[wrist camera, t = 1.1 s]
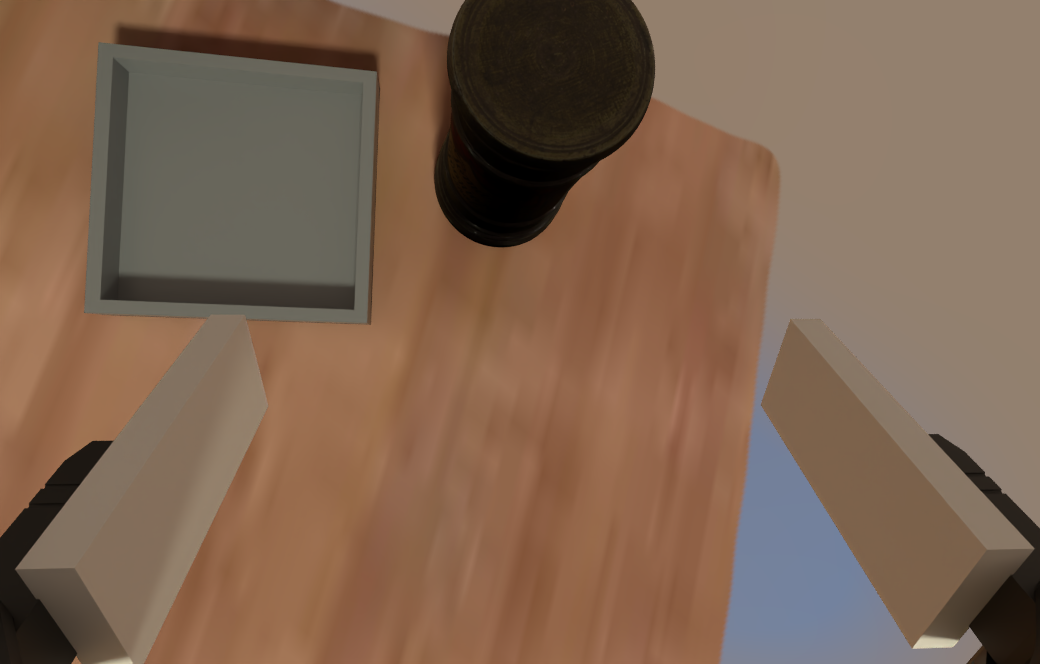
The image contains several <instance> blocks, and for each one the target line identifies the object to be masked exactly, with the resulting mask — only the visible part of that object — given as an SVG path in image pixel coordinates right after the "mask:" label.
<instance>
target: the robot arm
mask: <svg viewBox="0 0 1040 664" xmlns="http://www.w3.org/2000/svg"><path fill="white" fill-rule="evenodd" d="M761 406H762V407H763V409H764V411H765V412H766V414H767V416H768V417H769V419H770V420H771V422H772V423H773V425H774V427H775V429H776V430H777V432H778V433H779V435H780V437H781V438H782V440H783V441H784V443H785V445H786V446H787V448H788V449H789V451H790V453H791V454H792V456H793V457H794V459H795V461H796V462H797V464H798V465H799V467H800V469H801V470H802V472H803V474H804V475H805V477H806V478H807V480H808V481H809V483H810V485H811V486H812V488H813V490H814V491H815V493H816V495H817V496H818V498H819V499H820V501H821V503H822V504H823V506H824V507H825V509H826V511H827V512H828V514H829V515H830V517H831V519H832V520H833V522H834V523H835V525H836V527H837V528H838V530H839V532H840V533H841V535H842V536H843V538H844V540H845V541H846V543H847V545H848V546H849V548H850V549H851V551H852V552H853V554H854V556H855V557H856V559H857V561H858V562H859V564H860V565H861V567H862V569H863V570H864V572H865V574H866V575H867V577H868V578H869V580H870V582H871V583H872V585H873V586H874V588H875V589H876V591H877V593H878V594H879V596H880V598H881V599H882V601H883V603H884V604H885V605H886V607H887V609H888V611H889V612H890V614H891V615H892V617H893V618H894V620H895V622H896V623H897V625H898V627H899V628H900V630H901V632H902V633H903V635H904V636H905V638H906V639H907V641H908V643H909V644H910V646H911V648H944V647H954V646H955V644H956V643H957V642H958V641H959V640H960V638H961V637H962V636H963V635H964V633H965V632H966V631H967V630H968V629H969V627H970V628H971V629H972V631H973V632H974V634H975V635H976V636H977V638H978V639H979V641H980V642H981V643H982V647H981V648H980V649H979V650H978V651H977V652H976V654H975V655H974V656H973V657H972V658H971V659H970V660H969V661H968V663H967V664H1040V528H1039V527H1038V526H1037V525H1036V524H1035V523H1034V522H1033V521H1032V520H1031V519H1030V518H1029V517H1028V516H1027V515H1026V514H1025V513H1024V512H1023V511H1022V510H1021V509H1020V508H1019V507H1018V506H1017V505H1016V504H1015V503H1014V502H1013V501H1012V500H1011V499H1010V498H1009V497H1008V496H1007V495H1006V494H1002V492H1001V488H1000V487H999V486H998V485H997V484H995V482H993V480H992V479H991V478H990V477H986V476H985V472H984V471H983V470H982V469H981V468H980V467H979V466H978V465H977V464H976V463H975V462H974V461H973V460H972V459H971V458H970V457H969V456H968V455H967V453H965V452H964V451H963V450H961V449H960V448H958V447H957V446H955V445H954V444H952V443H951V442H949V441H948V440H946V439H944V438H943V437H942V436H940V435H939V434H927V433H926V432H925V431H924V430H923V429H922V428H921V426H920V425H919V424H918V423H917V422H916V421H915V420H914V419H913V418H912V417H911V416H910V415H909V414H908V413H907V411H906V410H905V409H904V408H903V407H902V406H901V405H900V404H899V403H898V402H897V401H896V400H895V399H894V398H893V396H892V395H891V394H890V393H889V392H888V391H887V390H886V389H885V388H884V387H883V386H882V385H881V384H880V383H879V382H878V381H877V379H876V378H875V377H874V376H873V375H872V374H871V373H870V372H869V371H868V370H867V369H866V368H865V367H864V365H863V364H862V363H861V362H860V361H859V360H858V359H857V358H856V357H855V356H854V355H853V354H852V353H851V352H850V351H849V349H848V348H847V347H846V346H845V345H844V344H843V343H842V342H841V341H840V340H839V339H838V338H837V337H836V335H834V334H833V332H832V331H831V330H830V329H829V328H828V327H827V326H826V325H825V324H824V323H823V321H822V320H820V319H790V322H789V325H788V328H787V331H786V334H785V337H784V339H783V343H782V345H781V348H780V351H779V354H778V357H777V360H776V363H775V365H774V368H773V371H772V374H771V377H770V380H769V383H768V386H767V388H766V391H765V394H764V397H763V400H762V403H761ZM267 408H268V403H267V399H266V395H265V391H264V387H263V383H262V379H261V375H260V371H259V368H258V364H257V360H256V356H255V352H254V348H253V344H252V340H251V336H250V332H249V328H248V324H247V321H246V317H245V315H210V316H209V318H208V319H207V320H206V322H205V323H204V324H203V326H202V327H201V328H200V329H199V331H198V332H197V333H196V335H195V336H194V337H193V339H192V340H191V341H190V342H189V344H188V345H187V346H186V348H185V349H184V350H183V352H182V353H181V354H180V355H179V357H178V358H177V359H176V361H175V362H174V363H173V365H172V366H171V367H170V368H169V370H168V371H167V372H166V374H165V375H164V376H163V378H162V379H161V380H160V381H159V383H158V384H157V385H156V387H155V388H154V389H153V391H152V392H151V393H150V394H149V396H148V397H147V398H146V400H145V401H144V402H143V404H142V405H141V406H140V407H139V409H138V410H137V411H136V413H135V414H134V415H133V417H132V418H131V419H130V420H129V422H128V423H127V424H126V426H125V427H124V428H123V430H122V431H121V432H120V433H119V435H118V436H117V437H116V439H115V440H114V441H92V442H91V443H89V444H88V445H86V446H85V447H83V448H82V449H81V450H79V451H78V452H76V453H75V454H74V455H72V456H71V457H69V458H68V459H67V460H65V461H64V462H63V463H62V465H61V466H60V467H59V468H58V469H57V471H56V472H55V473H54V474H53V475H52V477H51V478H50V479H49V480H48V481H47V483H46V484H45V488H44V489H41V490H40V491H39V492H38V493H37V494H36V496H35V497H34V498H33V499H32V500H31V502H30V503H29V508H25V509H24V510H23V511H22V512H21V514H20V515H19V516H18V517H17V518H16V520H15V521H14V522H13V523H12V524H11V526H10V527H9V528H8V529H7V530H6V532H5V533H4V534H3V535H2V536H1V538H0V664H71V663H72V662H73V660H74V658H75V657H76V656H77V658H78V659H79V660H80V662H81V663H82V664H144V662H145V660H146V658H147V656H148V654H149V652H150V650H151V648H152V646H153V644H154V642H155V639H156V637H157V635H158V633H159V631H160V629H161V627H162V625H163V623H164V621H165V619H166V617H167V615H168V613H169V611H170V608H171V606H172V604H173V602H174V600H175V598H176V596H177V594H178V592H179V590H180V588H181V586H182V584H183V582H184V579H185V577H186V575H187V573H188V571H189V569H190V567H191V565H192V563H193V561H194V559H195V557H196V555H197V553H198V550H199V548H200V546H201V544H202V542H203V540H204V538H205V536H206V534H207V532H208V530H209V528H210V526H211V524H212V522H213V519H214V517H215V515H216V513H217V511H218V509H219V507H220V505H221V503H222V501H223V499H224V497H225V495H226V493H227V490H228V488H229V486H230V484H231V482H232V480H233V478H234V476H235V474H236V472H237V470H238V468H239V466H240V464H241V462H242V459H243V457H244V455H245V453H246V451H247V449H248V447H249V445H250V443H251V441H252V439H253V437H254V435H255V433H256V430H257V428H258V426H259V424H260V422H261V420H262V418H263V416H264V414H265V412H266V410H267Z"/></svg>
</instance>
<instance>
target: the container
mask: <svg viewBox="0 0 1040 664" xmlns="http://www.w3.org/2000/svg"><path fill="white" fill-rule="evenodd" d="M654 58H655V57H654V50H653V45H652V41H651V37H650V34H649V31H648V28H647V26H646V23H645V21H644V19H643V17H642V16H641V14H640V12H639V11H638V9H637V7H636V6H635V5H634V3H633V2H632V1H631V0H465V2H464V3H463V4H462V6H461V8H460V10H459V12H458V14H457V16H456V18H455V20H454V23H453V26H452V29H451V33H450V37H449V42H448V51H447V69H448V76H449V81H450V85H451V89H452V91H451V108H452V113H451V125H450V130H449V132H448V134H447V138H446V140H445V141H444V144H443V146H442V148H441V151H440V154H439V157H438V160H437V163H436V168H435V190H436V195H437V199H438V202H439V205H440V207H441V209H442V211H443V213H444V215H445V216H446V218H447V219H448V220H449V222H450V223H451V224H452V225H453V226H454V228H455V229H457V230H458V231H459V232H460V233H461V234H463V235H464V236H465V237H467V238H469V239H471V240H472V241H475V242H477V243H480V244H483V245H486V246H491V247H511V246H516V245H520V244H523V243H526V242H528V241H530V240H532V239H533V238H535V237H536V236H538V235H539V234H540V233H541V232H543V231H544V230H545V229H546V228H547V227H548V225H549V224H550V223H551V222H552V220H553V218H554V217H555V215H556V214H557V212H558V211H559V209H560V207H561V205H562V202H563V200H564V199H565V197H566V195H567V193H568V191H569V190H570V189H571V188H572V187H573V186H574V184H575V183H576V182H577V181H578V180H579V179H580V178H581V177H582V176H584V175H585V174H586V173H588V172H589V171H590V170H591V169H593V168H594V167H595V166H596V165H597V163H598V162H599V161H600V160H602V159H604V158H606V157H607V156H609V155H610V154H612V153H613V152H615V151H616V150H617V149H619V148H620V147H621V146H622V145H623V144H624V143H625V142H626V141H627V140H628V139H629V138H630V137H631V136H632V135H633V133H634V132H635V131H636V129H637V128H638V126H639V124H640V123H641V121H642V119H643V117H644V115H645V113H646V111H647V108H648V105H649V102H650V99H651V95H652V91H653V86H654V78H655V59H654Z"/></svg>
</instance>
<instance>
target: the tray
mask: <svg viewBox="0 0 1040 664" xmlns="http://www.w3.org/2000/svg"><path fill="white" fill-rule="evenodd" d="M379 98H380V87H379V81H378V76H377V72H376V71H367V70H357V69H348V68H338V67H329V66H319V65H310V64H300V63H290V62H281V61H271V60H262V59H252V58H243V57H233V56H224V55H214V54H205V53H195V52H186V51H176V50H167V49H157V48H148V47H138V46H129V45H119V44H110V43H100V42H99V45H98V64H97V83H96V101H95V120H94V139H93V158H92V177H91V196H90V215H89V234H88V253H87V271H86V290H85V309H84V313H92V314H102V315H120V316H148V317H175V318H203V319H208V318H209V316H210V315H245V317H246V320H258V321H286V322H314V323H341V324H369V325H371V306H372V280H373V254H374V228H375V202H376V176H377V150H378V124H379Z"/></svg>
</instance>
